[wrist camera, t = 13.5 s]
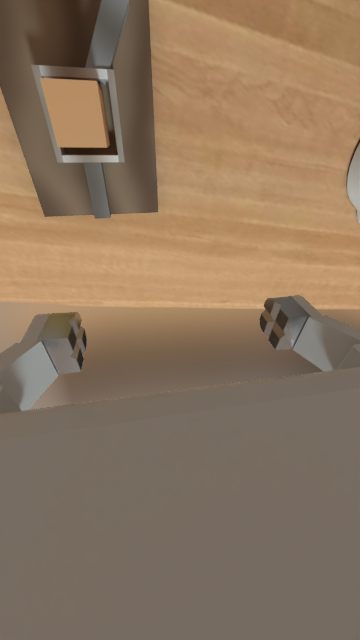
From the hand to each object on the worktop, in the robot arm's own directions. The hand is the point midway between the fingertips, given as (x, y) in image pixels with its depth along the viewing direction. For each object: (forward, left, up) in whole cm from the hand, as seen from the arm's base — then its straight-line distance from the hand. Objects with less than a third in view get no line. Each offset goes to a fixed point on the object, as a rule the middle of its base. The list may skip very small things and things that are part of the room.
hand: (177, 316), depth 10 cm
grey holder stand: (+5, -7, -26) cm, 28 cm away
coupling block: (+5, -7, -25) cm, 26 cm away
